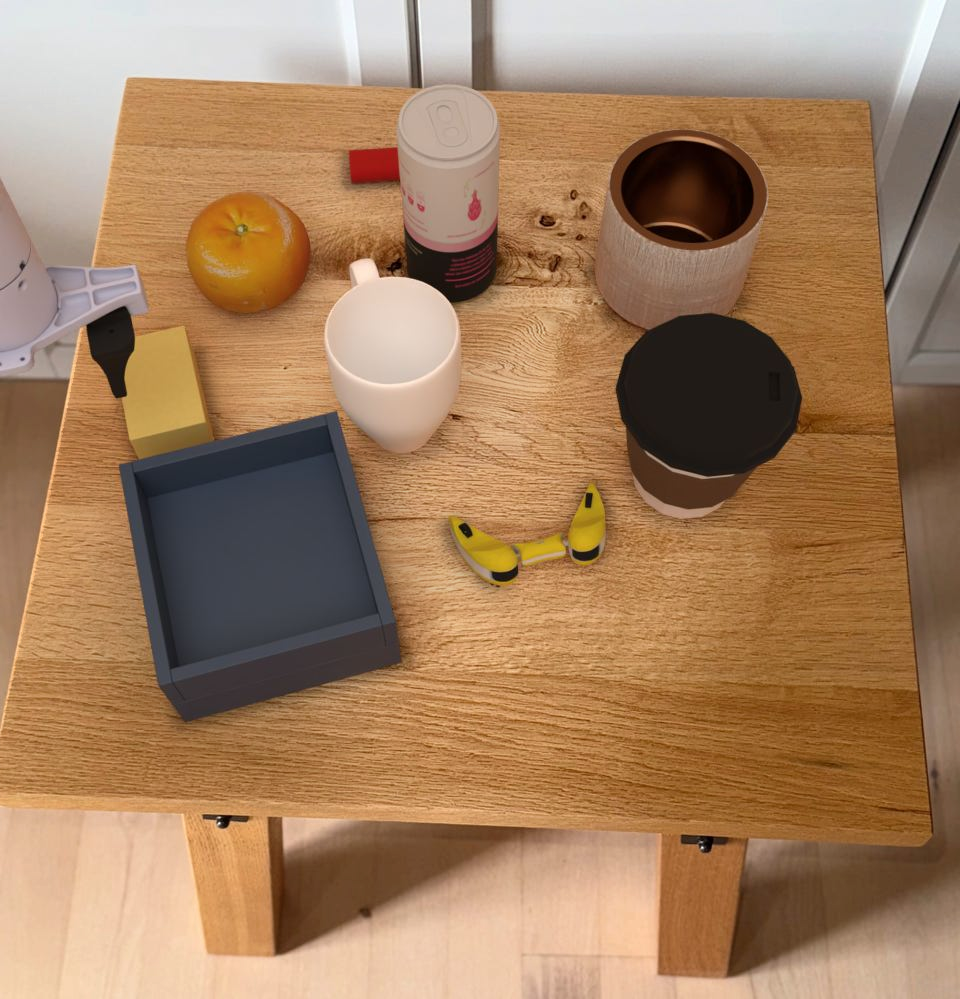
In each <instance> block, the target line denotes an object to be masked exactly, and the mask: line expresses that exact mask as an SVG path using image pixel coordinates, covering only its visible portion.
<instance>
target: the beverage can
mask: <svg viewBox="0 0 960 999" xmlns="http://www.w3.org/2000/svg"><path fill="white" fill-rule="evenodd" d="M395 130H396V134H395V135H396V146H397V147H398V160H399V172H400V180H399V182H400V183H399V184H400V195H401V196H400V197H401V208H402V221H403V232H404V246H405V256H406V258H405V260H406V268H407V269H406V270H407V275H408V276H407V277H408V278H411V279H415V280H418V281H421V282H424V283H426V284H428V285H430V286H432V287H433V288H435V289H436V290H438V291H439V292H440V293H441V294H443V295H444V296H445V297H446V299H447V300H448V301H449V302H450V304H457V303H465V302H468V301H471V300H473V299H475V298H477V297H479V296H481V295H482V294H483V293H484V292H486V291H487V290H488V289H489V288H490V286H491V285H492V283H494V282H493V281H494V280H495V278H496V275H497V269H498V233H499V232H498V230H499V195H500V194H499V192H500V185H499V184H500V156H501V155H500V154H501V152H500V151H501V124H500V121H499V118H498V113H497V111H496V109H495V107H494V105H493V103H492V102H491V101H490V100H489V98H487V97H486V96H485V95H484V94H482V93H481V92H480V91H478V90H476V89H473V88H471V87H469V86H464V85H461V84H455V83H454V84H453V83H446V84H445V83H443V84H436V85H432V86H428V87H426V88H423V89H421V90H418V91H417V92H416V93H414V94H413V95H411V96H410V97H409V98H408V99H407V100H406V101H405V103H404V104H403V105H402V106H401V109H400V111H399V114H398V119H397V122H396V129H395Z"/></svg>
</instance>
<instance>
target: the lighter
mask: <svg viewBox="0 0 960 999" xmlns="http://www.w3.org/2000/svg"><path fill="white" fill-rule="evenodd" d="M348 157H349V158H348V159H349V174H350V183H351V184H356V183H357V184H358V183H371V182H387V181H388V182H389V181H400V172H399V160H398V147H380V148H366V149H365V148H364V149H349V150H348Z"/></svg>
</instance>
